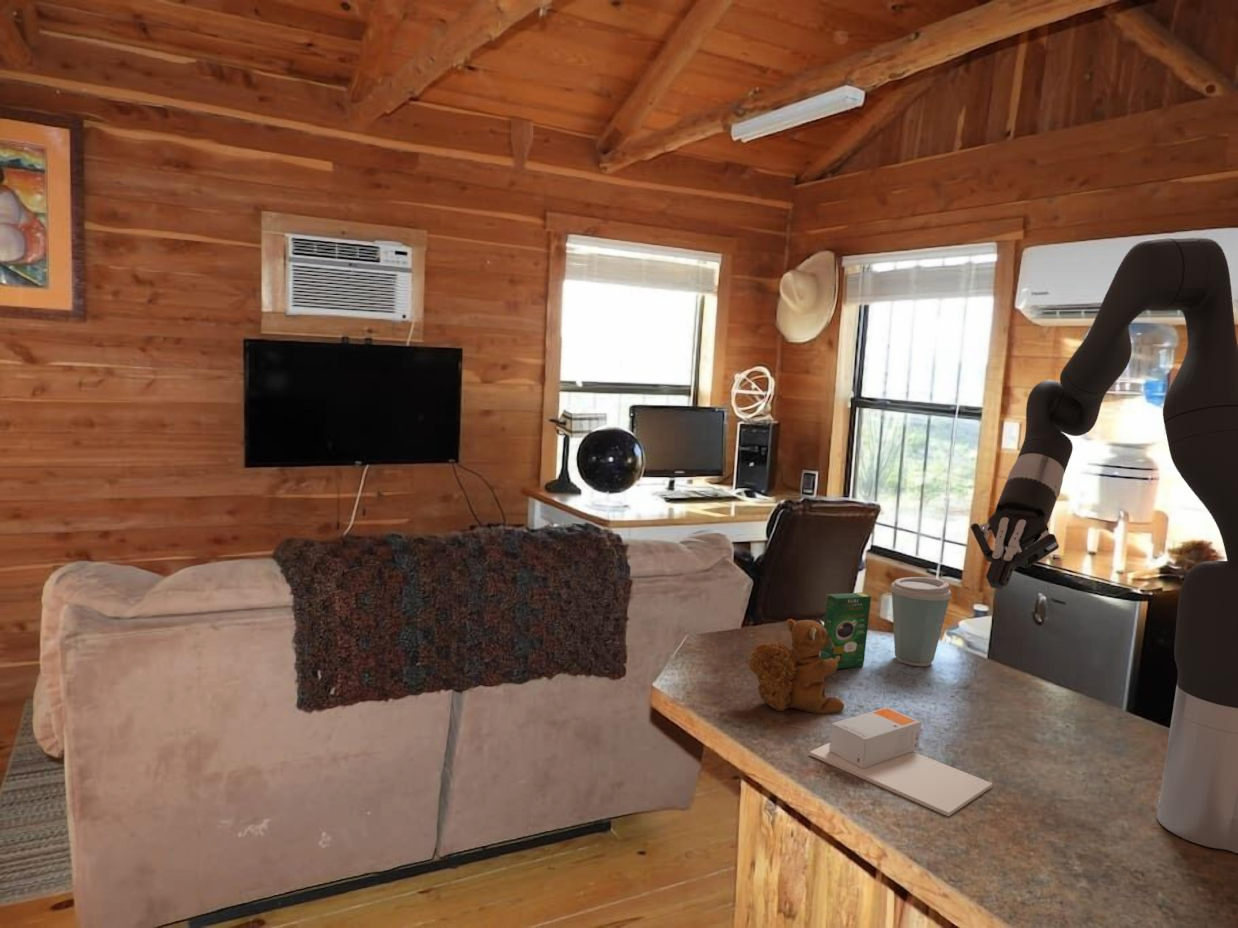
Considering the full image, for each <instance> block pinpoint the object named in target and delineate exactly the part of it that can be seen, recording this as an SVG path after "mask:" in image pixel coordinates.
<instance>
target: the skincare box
mask: <svg viewBox="0 0 1238 928" xmlns="http://www.w3.org/2000/svg"><path fill="white" fill-rule="evenodd" d="M921 727H922V722H921V721H919V720H918V719H915V718H912V717H911V716H908V715H906V714H903V713H901V712H898V711H897V710H895V709H893V708H890V707H888V706H887V707H884V708H880V709H876V710H873V711H870V712H866V713H862V714H858V715H856V716H852V717H848V718H846V719H842V720H839V721H836V722H835V721H834V722H832V723H831V728H830V737H829V738H830V739H829V743H830V746H829V751H830V752H832V753H834V754H836V755H838V756H840V757H841V758H843V759H844V760H846V761H849V762H851V763H853V764H855V765H857V766H859V767H861V768H866V767H869V766H872V765H875V764H878V763H881V762H884V761H886V760H889V759H892V758H895V757H898V756H901V755H904V754H907V753H910V752H915V751H919V750H920V749H919V747H920V740H921V739H920V737H921V729H922V728H921Z"/></svg>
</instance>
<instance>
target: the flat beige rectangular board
mask: <svg viewBox="0 0 1238 928" xmlns="http://www.w3.org/2000/svg"><path fill="white" fill-rule="evenodd" d="M829 746H830V742H827V743H825V744H823V745H821V746H819V747H817V748H815V749H812V750H811V751H809V756H810V757H813V758H814V759H818V760H820V761H822V762H824V763H827V764H828V765H830V766H834V767H835V768H838V769H839V770H842V771H845V772H847V773H848V774H851V775H854V776H855V777H858V778H860V779H863V780H864V781H867V782H869V783H872V784H874V785H876V786H878V787H880V788H883V789H886V790H888V791H889V792H892V793H894V794H896V795H899V796H901V797H903V798H906V799H908V800H910V801H912V802H915V803H917V804H919V805H922V806H923V807H926V808H928V809H930V810H932V811H935V812H936V813H940V814H942V815H944V816H946V817H950V816H951V815H953V814H955V813H956V812H957V811H959V810H961V809H962V808H963V807H965V806H966V805H968V804H969V803H971V802H972V801H974V800H975V799H977V798H978V797H980V796H981V795H983V794H984V793H986V792H987V791H989V790H990V789H992V788H993V783H992V782H990V781H987V780H985V779H983V778H980V777H979V776H975V775H973V774H970V773H967V772H965V771H962V770H959V769H957V768H954V767H953V766H949V765H947V764H946V763H942V762H940V761H938V760H935V759H933V758H930V757H927V756H926V755H923V754H921V753H917V752H915V751H913V752H910V753H907V754H904V755H901V756H898V757H895V758H892V759H889V760H886V761H884V762H881V763H878V764H875V765H872V766H869V767H866V768H861V767H859V766H857V765H855V764H853V763H851V762H849V761H846V760H844V759H843V758H841V757H840V756H838V755H836V754H834V753H832V752H830V751H829Z"/></svg>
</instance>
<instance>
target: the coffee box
mask: <svg viewBox="0 0 1238 928" xmlns="http://www.w3.org/2000/svg"><path fill="white" fill-rule="evenodd" d="M826 595H827V596H826V602H825V603H826V604H825V605H826V606H825V614H824V622H823V627H824V628H825V629H826V631H827V633H828V636H829V637H830V639H831V640H832V642H833V645H834V646H835V647H833V646H832V643H831V646H832V649H831V646H830V643H829V642H828V643H827V645H826V646H825V647H824V648H823V649H822V650H821V651H820V654H819V655H820V657H821V658H822V659H823V660H826V659H830V658H833V659H835V660H836V661H837V663H838V666H837V670H839V669H841V670H842V669H849V668H858V667H864V662H865V656H866V655H865V653H866V644H867V643H866V642H867V635H868V626H869V618H870V611H871V601H872V595H869V594H867V593H864V592H851V593H850V592H849V593H848V592H847V593H831V594H830V593H829V594H826ZM831 640H830V642H831Z"/></svg>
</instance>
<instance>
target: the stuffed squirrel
mask: <svg viewBox="0 0 1238 928" xmlns="http://www.w3.org/2000/svg"><path fill="white" fill-rule="evenodd" d="M786 626H787V628H788V630H789V632H790V633H791V635H790V636H791V640H792V643H791V646H792V649H789V648H788V646H787V645H785V644H784V643H782V642H780V641H779V642H777V641H774V642H771V643H770V644H769V643H765V642H764V643H761V644H760V643H758V644H757V645H756V646H755V647H754V648H752V650H750V651H747V654H748V655H749V657H751V658H750V659H748V661H747V662H748V664H749V669H750V670H751V671H752V672H753V673H754V674H755V675H756V677H757V680H758V683H759V684H758V685H757V690H758V694H759V698H760V699H761V700H763V701H764V703H765V704H766V705H768V706H769V707H771V709H773V710H776V711H777V712H784V711H785V710H786V709H792V708H794V709H795V710H798V711H801V712H809V713H814V714H831V713H832V714H833V713H837V712H838V713H839V712H842V711H843V710H844V708H845V704H844V702H843V701H842V700H841V699H839V698H837V697H834V696H831V697H827V696H826V683H825V679H824V678H825V677H827V676H830V675H833V674H834V673H836V672H837V670H838V669H837V666H838V663H837V661H836V660H835V659H833V658H830V659H826V660H823V659H822V658H821V657H820V655H821V650H822V649H823V648H824V647H825V646H826V645H827V643H828V642H829V643H830V646H831V643H832V646H833V647H835V646H834V645H833V642H832V640H831V639H830V637H829V636H828V633H827V631H826V629H825V628H824V625H822V624H821V623H820V622H817V621H816V620H812V619H811V620H810V619H801V620H798V621H797V622H796V621H795V620H794V619H792V618H789V619H787V620H786ZM830 640H831V642H830ZM832 646H831V649H832Z"/></svg>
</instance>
